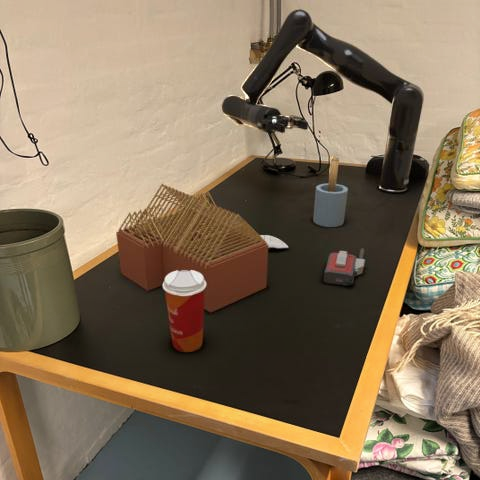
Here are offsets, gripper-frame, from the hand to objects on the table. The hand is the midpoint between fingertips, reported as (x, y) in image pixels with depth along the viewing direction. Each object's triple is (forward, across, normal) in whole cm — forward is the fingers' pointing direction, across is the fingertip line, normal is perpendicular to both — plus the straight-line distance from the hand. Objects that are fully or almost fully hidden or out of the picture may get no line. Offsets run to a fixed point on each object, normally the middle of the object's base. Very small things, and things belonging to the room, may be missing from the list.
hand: (295, 127), depth 148 cm
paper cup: (+51, -64, +24) cm, 85 cm away
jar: (+17, +1, +24) cm, 29 cm away
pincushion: (+23, -26, +24) cm, 42 cm away
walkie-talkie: (+43, -17, +24) cm, 52 cm away
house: (+29, -50, +24) cm, 63 cm away
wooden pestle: (+17, +1, +23) cm, 29 cm away
